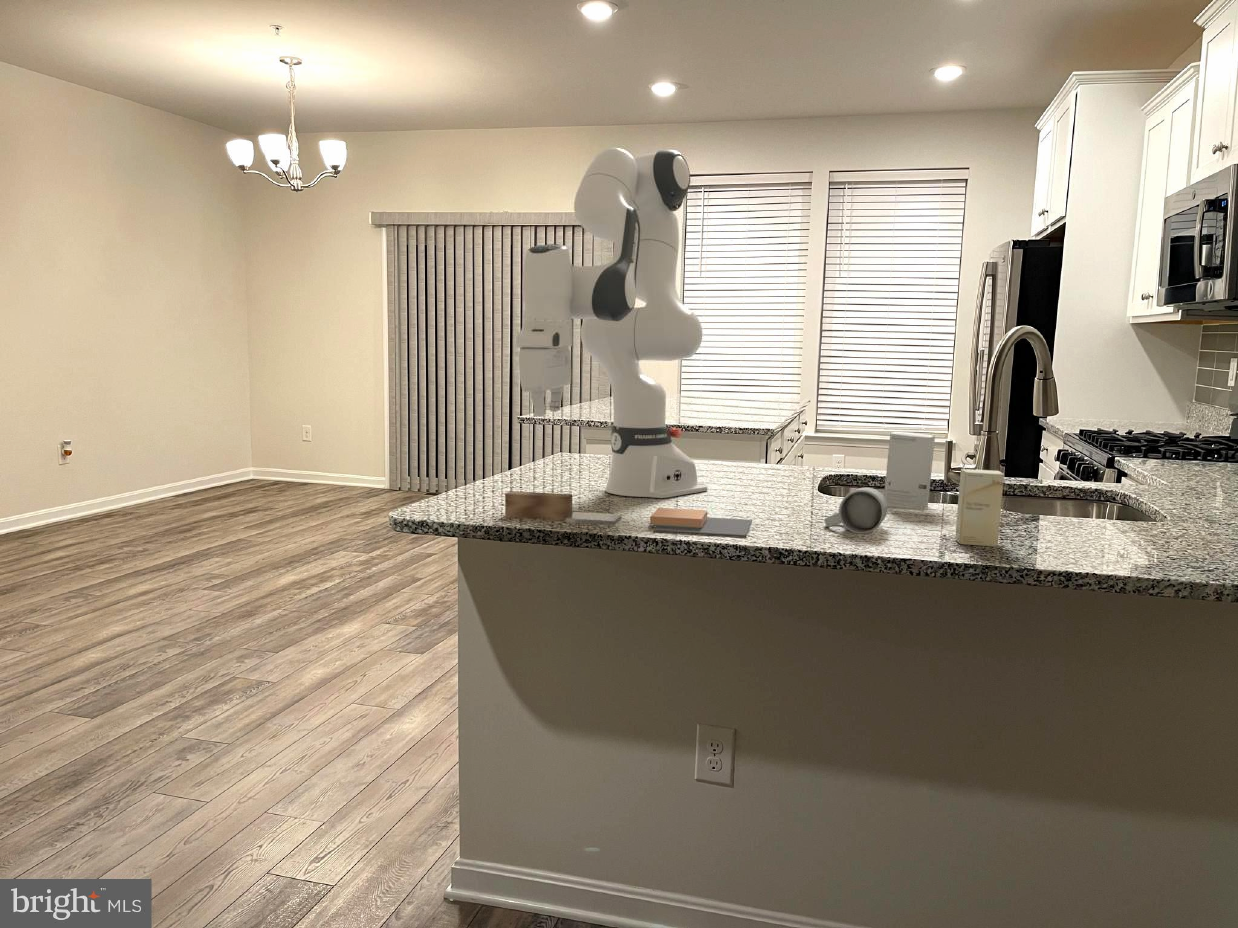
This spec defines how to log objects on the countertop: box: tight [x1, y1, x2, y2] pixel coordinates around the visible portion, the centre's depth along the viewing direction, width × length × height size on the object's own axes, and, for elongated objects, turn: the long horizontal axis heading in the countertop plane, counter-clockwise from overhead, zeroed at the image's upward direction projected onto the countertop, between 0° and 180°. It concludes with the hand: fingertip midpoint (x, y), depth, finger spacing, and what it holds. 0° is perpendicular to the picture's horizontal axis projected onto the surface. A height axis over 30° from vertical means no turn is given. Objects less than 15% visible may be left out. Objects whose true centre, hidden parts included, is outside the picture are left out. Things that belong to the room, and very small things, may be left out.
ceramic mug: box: [823, 487, 888, 535], centre depth 160 cm, size 11×8×8 cm
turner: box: [504, 490, 623, 526], centre depth 165 cm, size 21×6×4 cm, turn 78°
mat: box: [652, 516, 753, 538], centre depth 160 cm, size 16×13×1 cm
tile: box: [649, 507, 708, 529], centre depth 161 cm, size 2×8×9 cm
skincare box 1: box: [883, 431, 936, 511], centre depth 180 cm, size 8×6×15 cm
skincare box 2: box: [954, 468, 1005, 547], centre depth 150 cm, size 6×4×12 cm
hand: (547, 413), depth 164 cm, fingers open, 8 cm apart
